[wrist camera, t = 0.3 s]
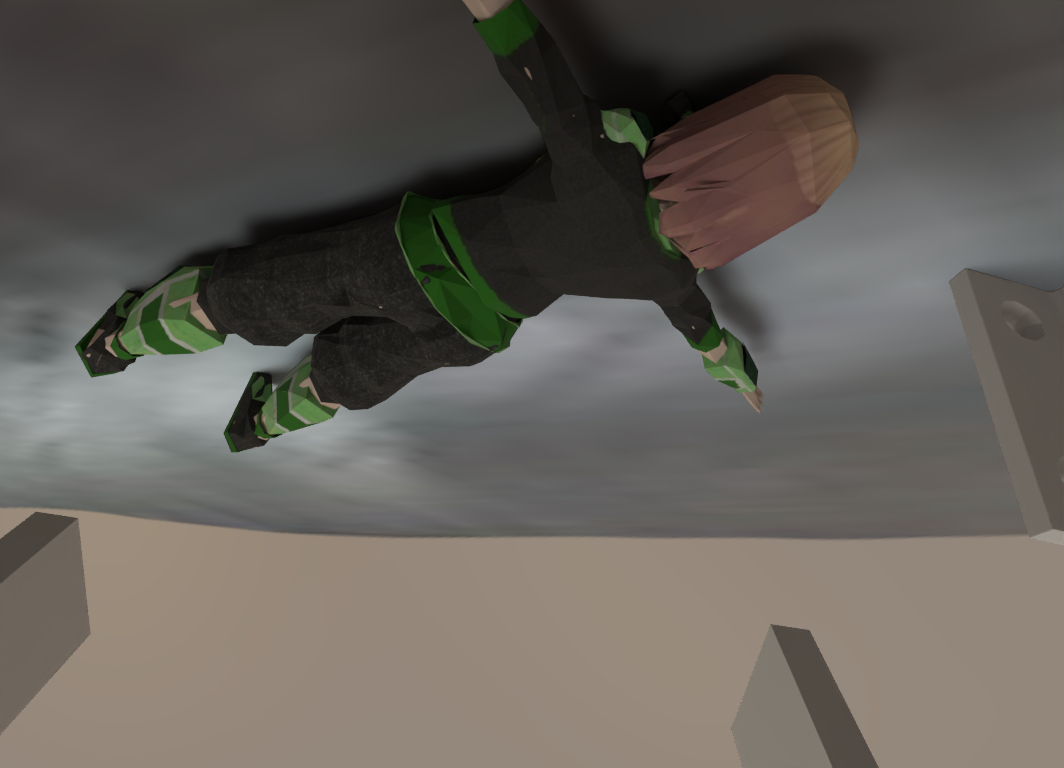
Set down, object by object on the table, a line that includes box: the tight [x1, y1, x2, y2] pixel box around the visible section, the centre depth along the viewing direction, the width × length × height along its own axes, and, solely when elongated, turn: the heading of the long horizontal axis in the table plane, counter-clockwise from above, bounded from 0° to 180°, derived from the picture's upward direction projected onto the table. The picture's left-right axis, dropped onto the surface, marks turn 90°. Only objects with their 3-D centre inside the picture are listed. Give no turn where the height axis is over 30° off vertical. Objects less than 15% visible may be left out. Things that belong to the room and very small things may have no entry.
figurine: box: [75, 0, 859, 452], centre depth 25 cm, size 26×6×30 cm
